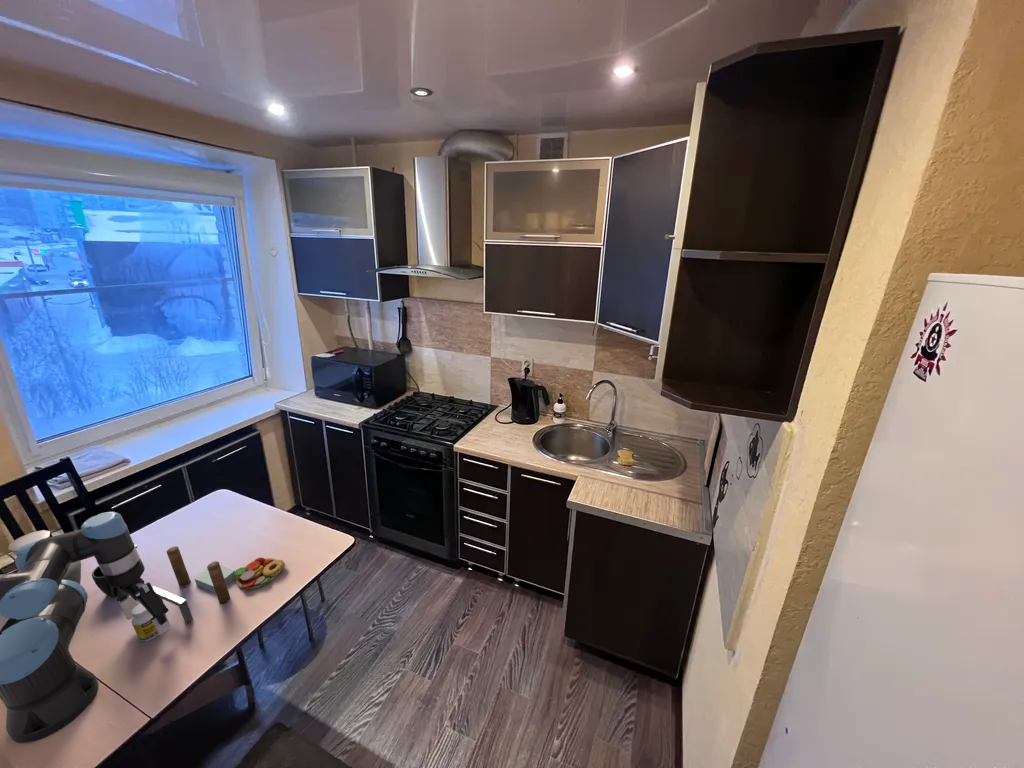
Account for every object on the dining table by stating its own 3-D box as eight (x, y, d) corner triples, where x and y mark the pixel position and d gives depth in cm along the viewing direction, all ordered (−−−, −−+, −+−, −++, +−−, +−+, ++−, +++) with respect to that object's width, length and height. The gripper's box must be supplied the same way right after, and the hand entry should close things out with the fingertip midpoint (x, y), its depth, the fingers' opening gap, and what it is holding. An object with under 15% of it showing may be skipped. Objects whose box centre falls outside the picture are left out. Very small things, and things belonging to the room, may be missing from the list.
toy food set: (290, 569, 143) (288, 562, 142) (253, 598, 132) (250, 590, 131) (265, 556, 149) (263, 548, 148) (227, 582, 138) (225, 575, 137)
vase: (83, 579, 138) (53, 517, 129) (103, 596, 132) (73, 532, 123) (20, 612, 127) (-17, 547, 117) (40, 633, 120) (1, 565, 111)
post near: (223, 605, 129) (211, 570, 124) (216, 602, 130) (204, 567, 125) (232, 597, 132) (221, 562, 127) (225, 594, 133) (214, 560, 128)
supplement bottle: (147, 644, 117) (136, 619, 114) (134, 638, 119) (122, 613, 115) (167, 628, 122) (157, 603, 119) (154, 622, 124) (144, 597, 120)
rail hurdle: (188, 623, 123) (180, 603, 120) (156, 609, 128) (148, 589, 125) (193, 619, 125) (186, 599, 122) (161, 605, 129) (153, 586, 126)
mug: (133, 601, 130) (123, 578, 127) (94, 601, 131) (83, 577, 127) (154, 580, 138) (145, 557, 135) (118, 580, 138) (108, 557, 135)
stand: (216, 592, 134) (214, 586, 133) (196, 584, 137) (194, 578, 136) (236, 576, 140) (234, 570, 139) (217, 569, 143) (215, 563, 142)
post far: (183, 588, 135) (170, 554, 130) (177, 585, 136) (164, 551, 131) (192, 581, 138) (180, 547, 133) (186, 578, 139) (174, 545, 134)
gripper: (168, 567, 111) (192, 625, 119) (109, 544, 119) (135, 599, 127) (136, 589, 104) (164, 649, 112) (76, 563, 112) (105, 620, 120)
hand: (148, 623), depth 119 cm, fingers open, 13 cm apart
